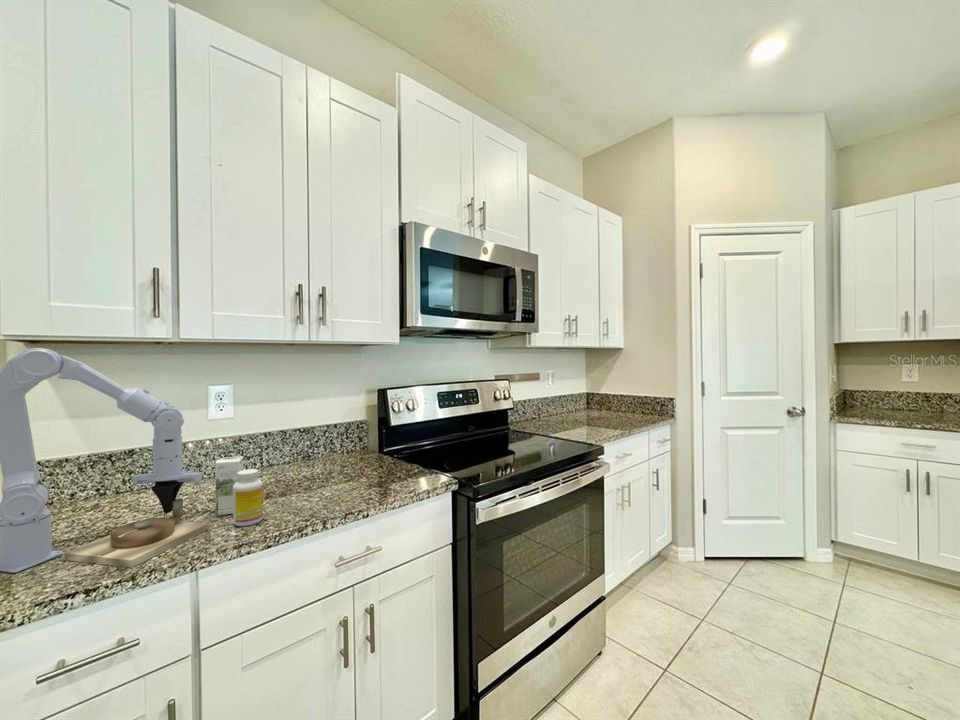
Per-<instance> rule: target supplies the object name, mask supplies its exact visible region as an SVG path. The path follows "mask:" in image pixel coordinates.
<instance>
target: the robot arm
mask: <svg viewBox="0 0 960 720" xmlns="http://www.w3.org/2000/svg"><path fill="white" fill-rule="evenodd" d="M58 374H59V375H58ZM56 375H58V376H57V379H61V380H71V381H77V382H80V383H82V384H85V385H87V386H88V387H90V388H91V389H94V390H96V391H98V392H100V393H102V394H104V395H106V396H108V397H110V398H112V399H115V400H116V407H117V409H119V410H121V411H122V412H124V413H127V414H129V415H130V416H132V417H135V418H136V419H138V420H139V421H142V422H143V423H151V425H152V427H154V428H153V438H152V473H139V474H136V475H133V476H132V485H139V484H154V485H153V486H151V491H152V493H154V494H155V496H156V497H157V498H158V502H160V505H161V508H162V511H163V514H168V513H170V512H173V500H175V499H177V495H178V494H179V492H180V490H181V489H182V486H183V485H184V482H185V483H186V482H190V483H191V482H192V483H199V482H201V481H202V480H203V473H202V471H186V470H185V471H184V470H183V435H182V426H183V425H184V423H185V419H184V417H183V416H184V415H183V414H182V412H180V411H179V410H178V409H177V408H175V407H174V406H172V405H170V403H169V402H168V401H166V400H165V401H162V400H161V399H158V398H157V397H155V396H153V395H152V394H150V390H148V389H146V388H143V389H141V388H139V387H130V388H127V387H124V386H123V385H121V384H119V383H117V382H116V381H114V380H113V379H111V378H109V377H108V376H106V375H104V374H103V373H101V372H99V371H97V370H96V369H95V368H92V367H91V366H89V365H87V364H86V363H84V362H81V361H79V360H76V359H74V358H71V357H69V356H66V355H61V354H60V353H59V352H58V351H56V350H54V349H53V350H52V349H49V348H43V347H32V348H28V349H25V350H23V351H22V352H20V353H18V354H16V355H14V356H13V357H12V358H10V359H8V361H7V362H6V364H5V365H4V367H3V369H2V370H1V371H0V469H1V473H2V474H1V475H2V484H1V494H2V499H1V501H0V572H6V573H13V574H15V573H18V572H22V571H23V570H26V569H30V568H31V567H34V566H36V565H40V564H41V563H44V562H46V561H49V560H51V559H54V558H57V557H59V556H62V555H63V554H64V551H61V550H53V549H52V548H53V547H52V546H53V545H52V511H51V510H50V509H48V508H46V503H47V501H48V500H49V498H50V496H51V491H50V488H49V487H48V486H47V485H46V484H45V483H44V482H43V480H42V476H41V474H40V473H41V472H40V471H39V469H38V464H37V458H36V453H35V446H34V440H33V435H32V430H31V423H30V418H29V412H28V406H27V399H26V395H27V394H28V393H29V392H30V391H31V390H32V389H34V388H35V387H37V385H39V383H41V382H43V381H45V380H48V379H50V378H52V377H55V376H56Z"/></svg>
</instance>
